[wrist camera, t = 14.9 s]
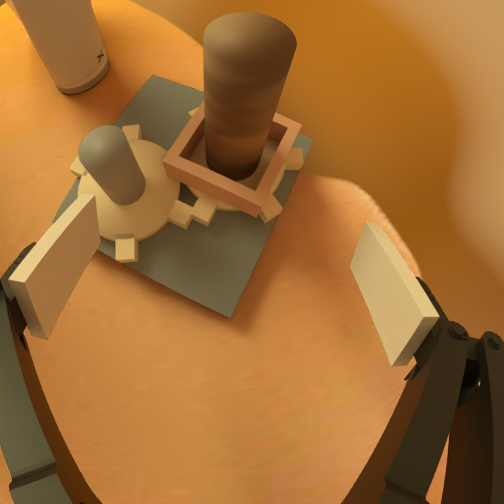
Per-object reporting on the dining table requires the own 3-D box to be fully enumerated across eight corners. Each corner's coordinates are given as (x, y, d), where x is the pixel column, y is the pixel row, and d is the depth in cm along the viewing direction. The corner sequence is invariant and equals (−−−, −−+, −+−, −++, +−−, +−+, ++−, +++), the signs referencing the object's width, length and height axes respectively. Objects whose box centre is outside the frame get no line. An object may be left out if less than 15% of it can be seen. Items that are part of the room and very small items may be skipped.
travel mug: (122, 66, 27) (85, -97, 7) (72, 104, 25) (-4, -52, 6) (95, 45, 27) (56, -94, 7) (49, 80, 26) (-17, -53, 6)
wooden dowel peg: (196, 168, 22) (185, 49, 11) (221, 127, 23) (229, 4, 12) (245, 190, 23) (276, 80, 11) (268, 147, 23) (308, 30, 12)
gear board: (56, 226, 23) (0, 189, 14) (151, 84, 27) (138, 17, 18) (229, 318, 23) (238, 321, 15) (308, 148, 27) (343, 89, 18)
